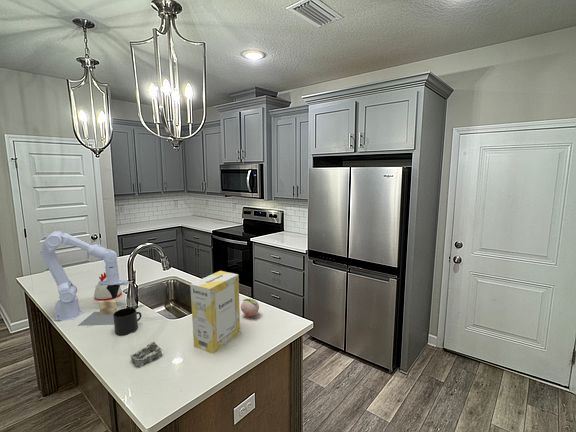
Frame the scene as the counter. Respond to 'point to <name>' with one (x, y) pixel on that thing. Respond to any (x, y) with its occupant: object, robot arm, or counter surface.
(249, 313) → the decorative fruit
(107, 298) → the cream dome
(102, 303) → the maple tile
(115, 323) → the mug
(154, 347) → the grey rough flat block
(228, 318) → the pasta box
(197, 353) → the counter surface
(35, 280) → the counter surface
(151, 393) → the counter surface
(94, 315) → the picture frame
